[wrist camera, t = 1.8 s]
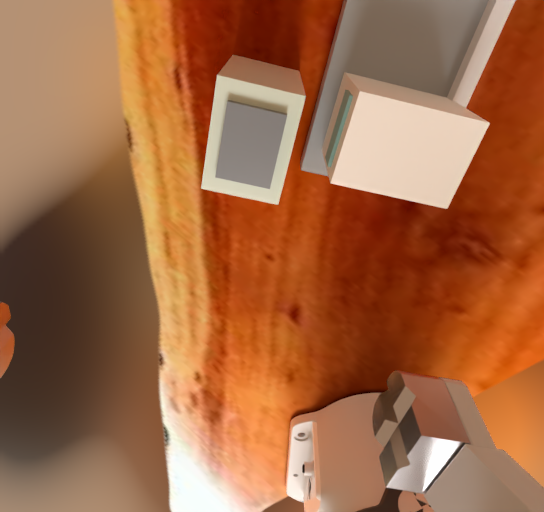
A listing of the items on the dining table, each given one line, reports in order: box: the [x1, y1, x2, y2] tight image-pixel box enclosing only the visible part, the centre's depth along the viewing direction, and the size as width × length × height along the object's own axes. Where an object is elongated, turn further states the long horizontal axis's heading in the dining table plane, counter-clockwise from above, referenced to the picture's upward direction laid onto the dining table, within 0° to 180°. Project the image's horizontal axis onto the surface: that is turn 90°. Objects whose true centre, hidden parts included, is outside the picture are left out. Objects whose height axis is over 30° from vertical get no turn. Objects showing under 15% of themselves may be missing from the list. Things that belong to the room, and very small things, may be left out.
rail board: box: [300, 0, 515, 209], centre depth 22 cm, size 22×9×8 cm, turn 167°
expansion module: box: [201, 55, 306, 205], centre depth 25 cm, size 6×4×8 cm
